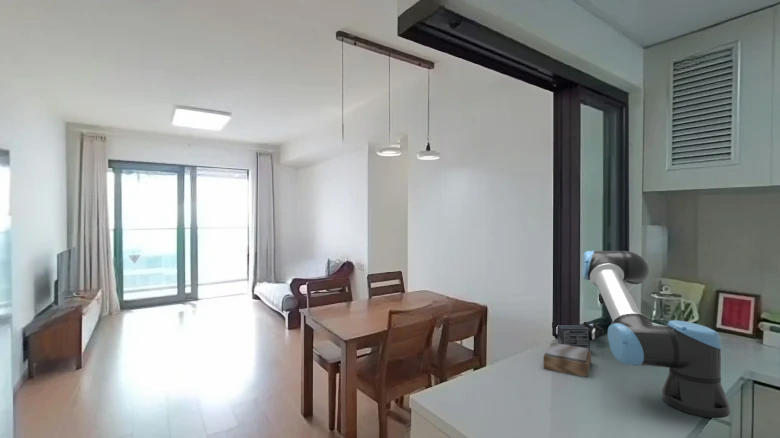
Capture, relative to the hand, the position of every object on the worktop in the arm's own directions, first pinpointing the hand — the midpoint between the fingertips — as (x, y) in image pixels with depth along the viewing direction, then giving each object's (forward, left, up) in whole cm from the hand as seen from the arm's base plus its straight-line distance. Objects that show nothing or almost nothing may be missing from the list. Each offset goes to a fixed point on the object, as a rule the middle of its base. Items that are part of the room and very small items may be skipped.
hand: (574, 333), depth 154 cm
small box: (0, +6, -6) cm, 9 cm away
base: (0, +22, -6) cm, 23 cm away
